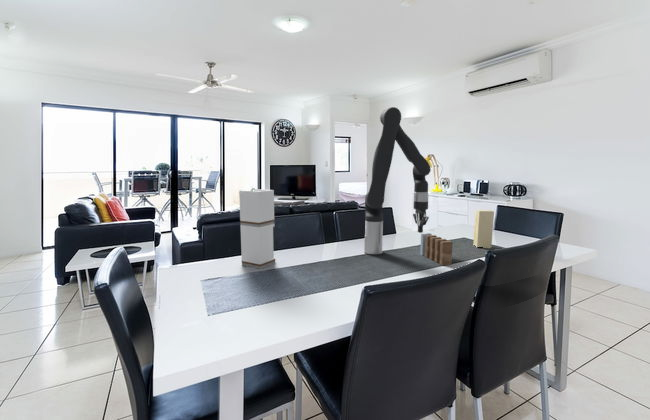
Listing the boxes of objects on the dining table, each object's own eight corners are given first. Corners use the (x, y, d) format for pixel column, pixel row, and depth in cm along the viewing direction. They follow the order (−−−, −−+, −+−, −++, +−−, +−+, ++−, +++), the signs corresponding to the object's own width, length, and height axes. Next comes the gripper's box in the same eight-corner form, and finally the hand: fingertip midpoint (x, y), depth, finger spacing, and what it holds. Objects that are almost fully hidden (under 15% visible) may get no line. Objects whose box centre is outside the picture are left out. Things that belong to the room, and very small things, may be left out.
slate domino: (420, 254, 178) (421, 233, 177) (428, 253, 180) (429, 233, 178) (422, 255, 176) (423, 234, 175) (430, 254, 178) (431, 234, 176)
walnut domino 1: (424, 256, 174) (425, 235, 172) (433, 256, 175) (434, 235, 174) (426, 257, 172) (427, 236, 170) (435, 257, 173) (436, 235, 172)
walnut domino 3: (434, 261, 165) (435, 239, 164) (443, 260, 166) (444, 238, 165) (436, 262, 163) (437, 240, 162) (445, 262, 165) (447, 239, 163)
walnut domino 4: (439, 264, 161) (440, 241, 159) (448, 263, 162) (450, 240, 161) (441, 265, 159) (443, 242, 158) (451, 264, 160) (452, 241, 159)
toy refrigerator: (486, 245, 198) (489, 209, 195) (491, 248, 191) (494, 211, 188) (472, 245, 199) (474, 209, 196) (477, 248, 191) (479, 211, 189)
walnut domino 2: (429, 259, 170) (430, 237, 168) (438, 258, 171) (439, 236, 169) (431, 260, 168) (432, 238, 166) (440, 259, 169) (441, 237, 167)
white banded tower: (275, 263, 163) (273, 190, 158) (260, 268, 154) (258, 191, 149) (257, 259, 169) (255, 189, 164) (241, 265, 160) (239, 190, 155)
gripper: (408, 199, 186) (408, 230, 189) (420, 201, 174) (420, 235, 176) (421, 198, 188) (420, 229, 190) (434, 201, 175) (433, 234, 178)
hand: (420, 232), depth 183 cm, fingers closed
